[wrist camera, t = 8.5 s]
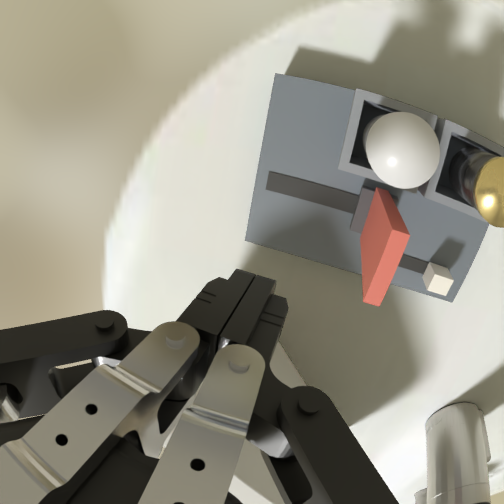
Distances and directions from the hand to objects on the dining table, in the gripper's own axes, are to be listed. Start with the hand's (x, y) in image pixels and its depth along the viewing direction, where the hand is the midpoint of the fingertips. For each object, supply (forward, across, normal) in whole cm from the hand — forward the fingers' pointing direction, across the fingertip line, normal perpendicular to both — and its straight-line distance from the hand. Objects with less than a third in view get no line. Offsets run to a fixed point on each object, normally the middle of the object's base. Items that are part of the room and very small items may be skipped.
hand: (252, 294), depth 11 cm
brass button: (+10, -10, -6) cm, 16 cm away
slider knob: (+15, -13, +3) cm, 20 cm away
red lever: (+15, -6, 0) cm, 16 cm away
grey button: (+10, -4, -6) cm, 13 cm away
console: (+18, -6, -2) cm, 19 cm away
